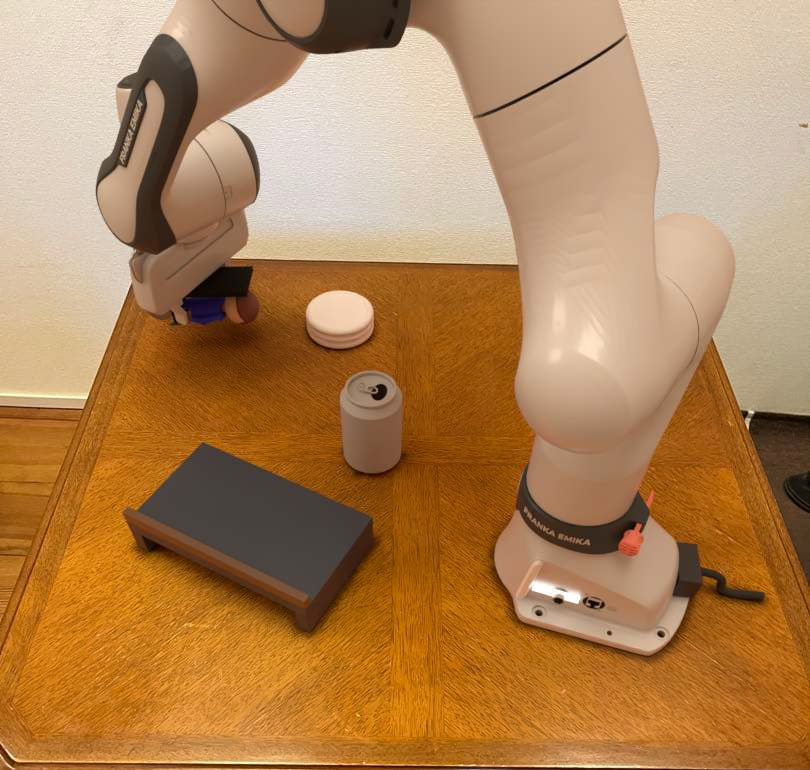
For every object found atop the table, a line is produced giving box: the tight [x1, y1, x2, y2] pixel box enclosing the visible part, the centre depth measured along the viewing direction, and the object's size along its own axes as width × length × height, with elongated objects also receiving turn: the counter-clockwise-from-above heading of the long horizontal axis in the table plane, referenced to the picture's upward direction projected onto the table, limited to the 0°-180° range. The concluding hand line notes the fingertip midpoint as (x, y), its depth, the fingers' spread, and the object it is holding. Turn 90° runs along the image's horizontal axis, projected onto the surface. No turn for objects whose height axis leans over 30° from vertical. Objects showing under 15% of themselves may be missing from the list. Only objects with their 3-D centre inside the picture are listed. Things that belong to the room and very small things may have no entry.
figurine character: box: [146, 265, 260, 327], centre depth 104 cm, size 7×8×15 cm
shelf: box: [121, 441, 374, 634], centre depth 85 cm, size 24×14×7 cm, turn 62°
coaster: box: [305, 290, 375, 350], centre depth 110 cm, size 10×10×4 cm
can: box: [339, 370, 403, 474], centre depth 91 cm, size 8×8×12 cm
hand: (204, 304), depth 105 cm, fingers closed on figurine character, 7 cm apart
